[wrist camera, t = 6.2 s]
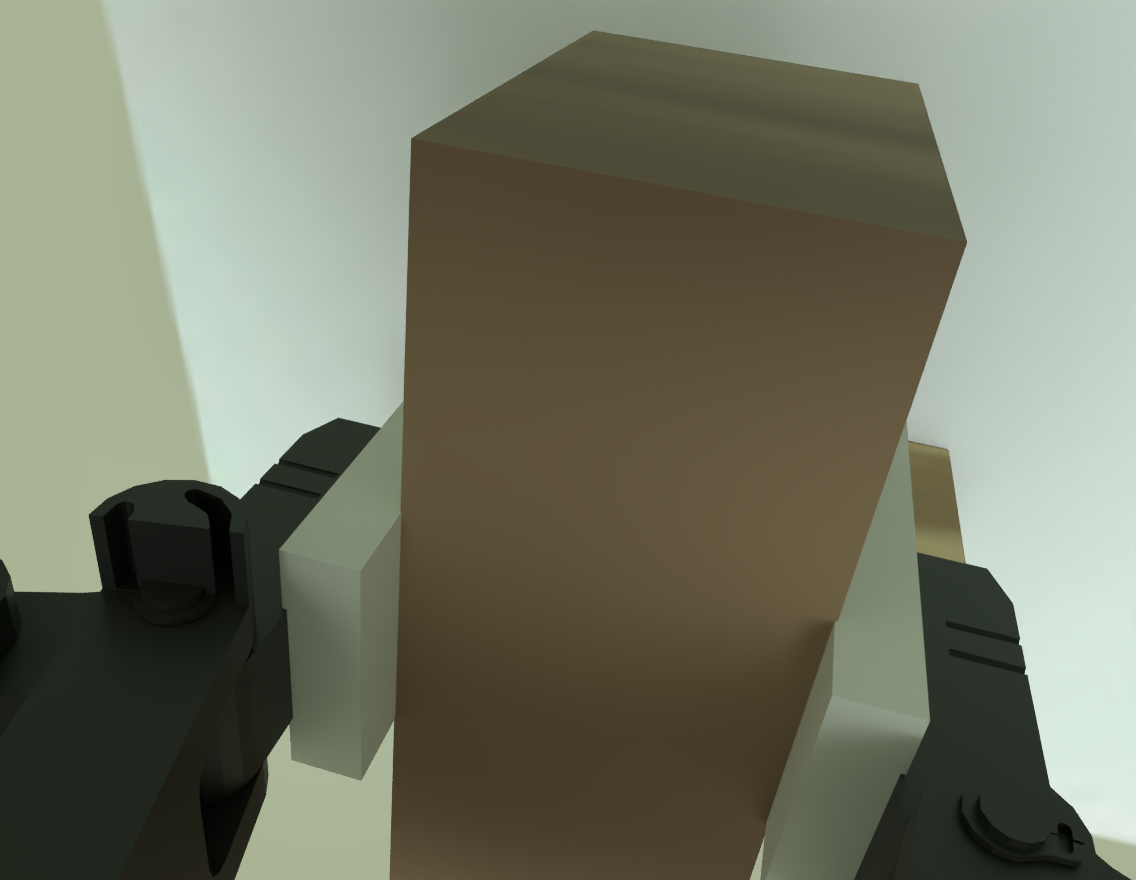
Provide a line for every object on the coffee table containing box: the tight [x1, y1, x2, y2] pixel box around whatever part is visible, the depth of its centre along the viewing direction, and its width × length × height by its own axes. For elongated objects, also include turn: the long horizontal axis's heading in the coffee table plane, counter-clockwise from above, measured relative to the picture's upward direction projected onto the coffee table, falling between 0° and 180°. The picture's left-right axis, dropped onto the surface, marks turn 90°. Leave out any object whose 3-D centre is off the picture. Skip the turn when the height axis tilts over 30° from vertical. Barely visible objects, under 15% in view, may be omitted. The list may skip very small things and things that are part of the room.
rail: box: [390, 31, 967, 880], centre depth 13 cm, size 15×4×6 cm, turn 173°
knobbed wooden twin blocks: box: [908, 441, 966, 564], centre depth 25 cm, size 5×14×11 cm, turn 83°
